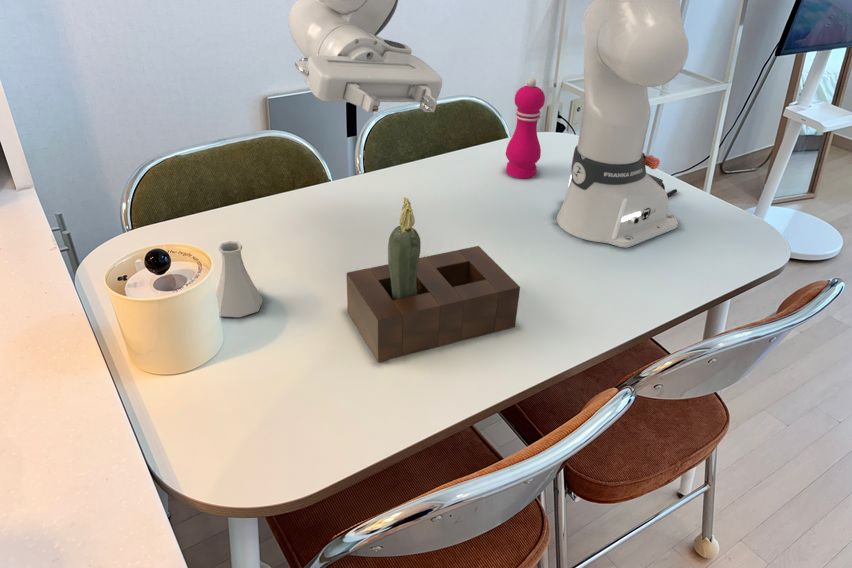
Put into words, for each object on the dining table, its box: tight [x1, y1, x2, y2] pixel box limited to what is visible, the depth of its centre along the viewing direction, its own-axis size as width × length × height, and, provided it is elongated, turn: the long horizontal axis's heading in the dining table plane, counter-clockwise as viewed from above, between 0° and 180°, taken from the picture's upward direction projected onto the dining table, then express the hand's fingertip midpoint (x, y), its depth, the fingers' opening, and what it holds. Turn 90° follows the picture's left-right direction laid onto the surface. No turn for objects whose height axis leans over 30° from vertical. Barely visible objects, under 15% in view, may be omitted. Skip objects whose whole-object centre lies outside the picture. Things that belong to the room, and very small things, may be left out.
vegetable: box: [387, 196, 422, 300], centre depth 95 cm, size 4×4×20 cm
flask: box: [216, 240, 264, 318], centre depth 100 cm, size 7×7×10 cm
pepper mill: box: [505, 77, 546, 180], centre depth 142 cm, size 7×7×20 cm
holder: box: [346, 245, 521, 363], centre depth 100 cm, size 21×12×7 cm, turn 114°
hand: (404, 107), depth 93 cm, fingers open, 8 cm apart
